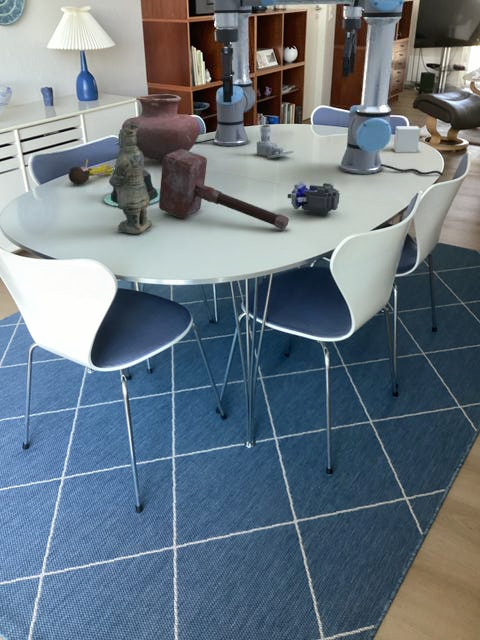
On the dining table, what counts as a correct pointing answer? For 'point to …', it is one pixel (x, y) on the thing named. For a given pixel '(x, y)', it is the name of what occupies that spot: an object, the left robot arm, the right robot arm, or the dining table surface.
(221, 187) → the dining table surface
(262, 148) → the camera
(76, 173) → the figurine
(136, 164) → the statue
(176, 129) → the clay pot
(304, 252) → the dining table surface
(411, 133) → the brick
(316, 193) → the toy
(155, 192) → the dark dome on dish
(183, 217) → the sledgehammer
